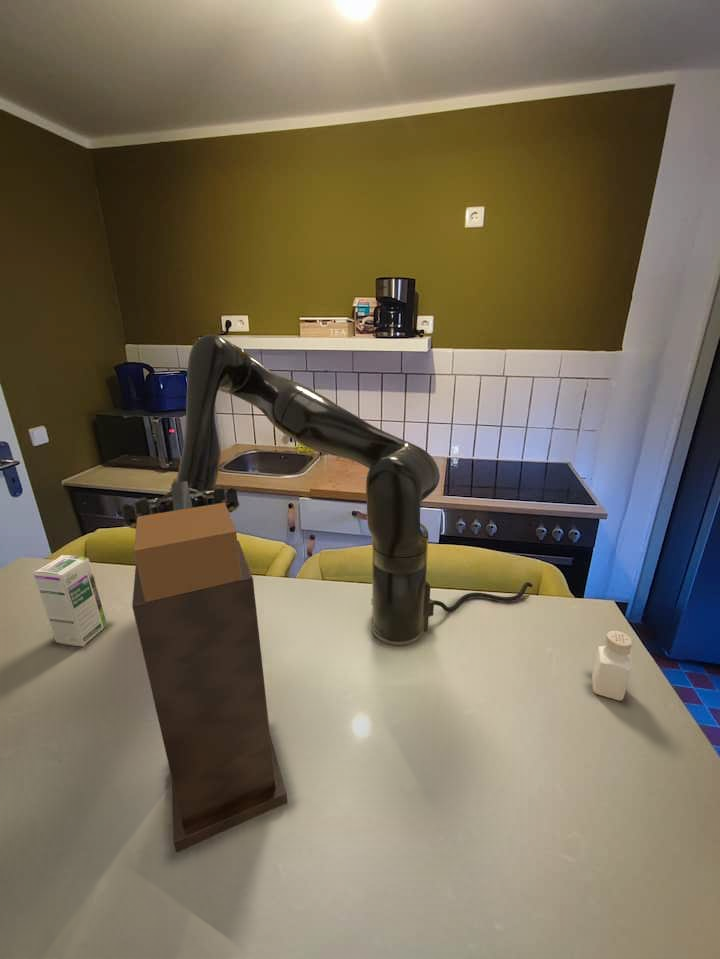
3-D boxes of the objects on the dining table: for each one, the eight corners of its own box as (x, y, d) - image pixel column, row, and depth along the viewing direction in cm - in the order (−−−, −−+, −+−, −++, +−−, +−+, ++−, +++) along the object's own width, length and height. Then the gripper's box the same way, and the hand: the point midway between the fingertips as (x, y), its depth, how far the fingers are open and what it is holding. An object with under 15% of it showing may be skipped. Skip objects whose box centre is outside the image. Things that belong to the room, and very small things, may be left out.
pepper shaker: (620, 683, 65) (634, 633, 62) (623, 703, 62) (637, 651, 58) (591, 675, 67) (602, 625, 63) (592, 694, 63) (604, 642, 60)
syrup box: (83, 647, 73) (62, 574, 68) (54, 643, 74) (31, 571, 69) (108, 626, 78) (90, 556, 73) (80, 621, 79) (61, 553, 74)
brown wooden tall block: (268, 731, 58) (246, 534, 47) (287, 802, 49) (266, 580, 39) (172, 767, 53) (125, 557, 43) (175, 852, 45) (117, 616, 34)
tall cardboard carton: (212, 491, 60) (207, 457, 58) (241, 580, 39) (236, 531, 37) (149, 500, 56) (142, 464, 55) (145, 602, 36) (133, 550, 34)
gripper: (130, 500, 64) (110, 478, 49) (228, 485, 70) (236, 462, 55) (137, 549, 63) (119, 542, 48) (236, 530, 69) (247, 519, 54)
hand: (181, 500), depth 52 cm, fingers open, 8 cm apart
